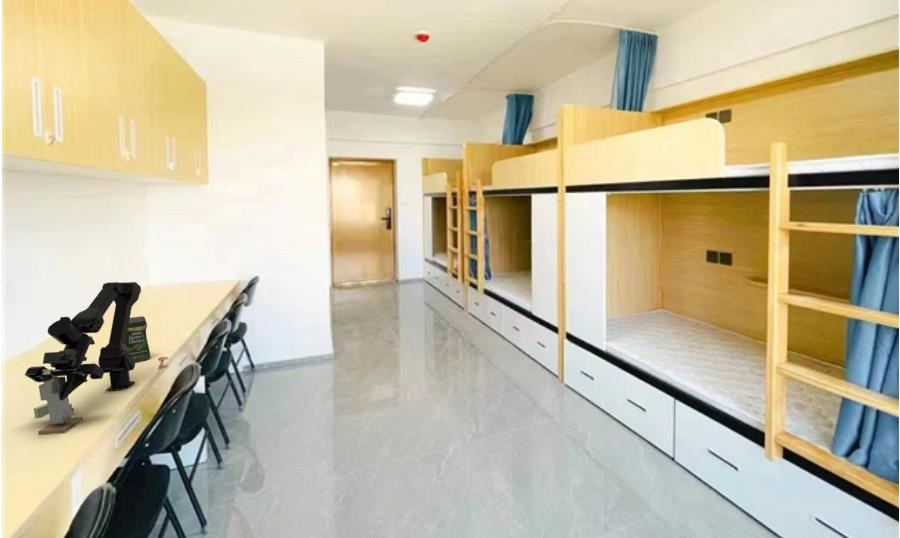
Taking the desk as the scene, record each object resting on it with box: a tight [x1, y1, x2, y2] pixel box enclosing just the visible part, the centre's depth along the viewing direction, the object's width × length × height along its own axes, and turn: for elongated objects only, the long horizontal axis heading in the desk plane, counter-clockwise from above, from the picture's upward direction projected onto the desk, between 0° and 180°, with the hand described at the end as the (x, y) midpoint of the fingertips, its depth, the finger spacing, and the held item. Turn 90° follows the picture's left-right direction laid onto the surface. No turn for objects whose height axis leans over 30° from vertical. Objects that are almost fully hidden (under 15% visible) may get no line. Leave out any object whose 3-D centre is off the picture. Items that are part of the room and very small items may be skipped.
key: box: [157, 356, 169, 370], centre depth 189 cm, size 6×1×15 cm
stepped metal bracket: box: [38, 376, 72, 424], centre depth 133 cm, size 6×3×13 cm, turn 7°
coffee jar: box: [125, 315, 151, 363], centre depth 192 cm, size 10×8×19 cm
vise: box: [33, 402, 75, 419], centre depth 144 cm, size 6×9×3 cm
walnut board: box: [37, 416, 85, 435], centre depth 135 cm, size 8×7×1 cm
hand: (54, 400), depth 133 cm, fingers closed on stepped metal bracket, 3 cm apart
